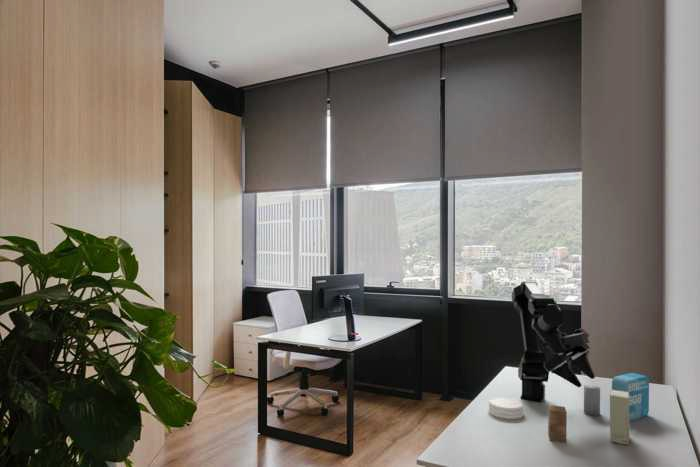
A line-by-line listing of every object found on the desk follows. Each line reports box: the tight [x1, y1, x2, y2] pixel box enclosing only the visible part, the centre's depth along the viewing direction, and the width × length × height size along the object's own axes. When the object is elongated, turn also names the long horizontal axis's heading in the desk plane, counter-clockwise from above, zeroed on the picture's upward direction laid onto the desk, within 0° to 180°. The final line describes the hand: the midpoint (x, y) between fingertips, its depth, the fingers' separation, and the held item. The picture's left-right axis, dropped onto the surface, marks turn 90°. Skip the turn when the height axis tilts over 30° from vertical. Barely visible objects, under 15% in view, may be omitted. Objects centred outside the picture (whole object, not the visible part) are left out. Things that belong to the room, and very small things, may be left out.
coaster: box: [488, 396, 524, 420], centre depth 142 cm, size 10×10×4 cm
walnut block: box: [547, 404, 568, 444], centre depth 124 cm, size 4×4×8 cm
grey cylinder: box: [583, 384, 601, 417], centre depth 143 cm, size 4×4×8 cm
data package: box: [611, 372, 650, 422], centre depth 141 cm, size 12×4×12 cm, turn 120°
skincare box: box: [609, 389, 630, 446], centre depth 124 cm, size 6×4×12 cm
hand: (587, 382), depth 133 cm, fingers open, 9 cm apart
